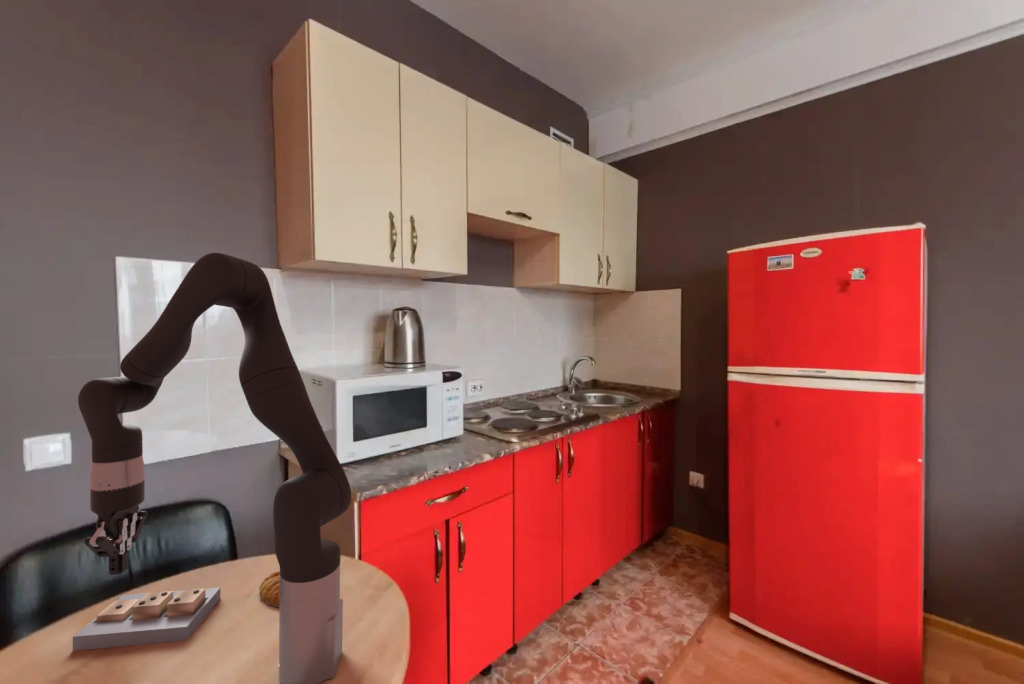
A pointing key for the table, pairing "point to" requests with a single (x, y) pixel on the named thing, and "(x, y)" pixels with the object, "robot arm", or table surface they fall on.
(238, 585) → the table surface
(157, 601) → the button
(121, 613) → the button
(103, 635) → the panel
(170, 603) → the button
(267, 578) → the pastry
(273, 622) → the table surface
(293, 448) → the robot arm
